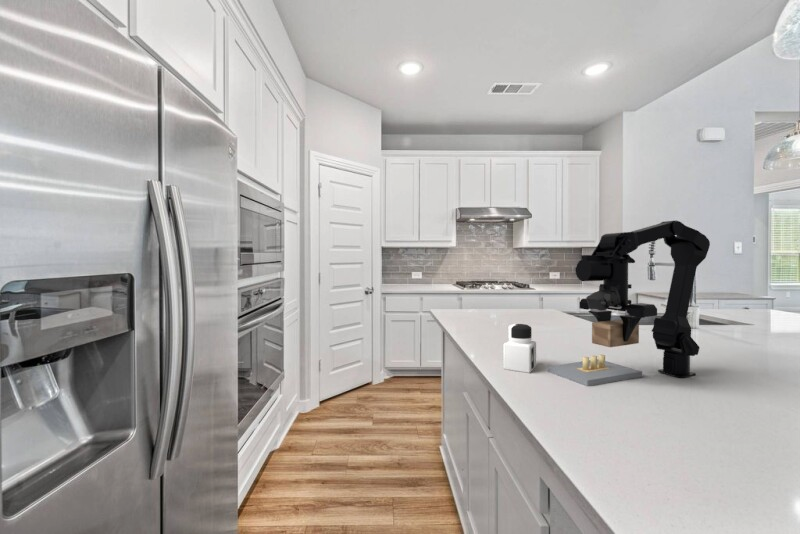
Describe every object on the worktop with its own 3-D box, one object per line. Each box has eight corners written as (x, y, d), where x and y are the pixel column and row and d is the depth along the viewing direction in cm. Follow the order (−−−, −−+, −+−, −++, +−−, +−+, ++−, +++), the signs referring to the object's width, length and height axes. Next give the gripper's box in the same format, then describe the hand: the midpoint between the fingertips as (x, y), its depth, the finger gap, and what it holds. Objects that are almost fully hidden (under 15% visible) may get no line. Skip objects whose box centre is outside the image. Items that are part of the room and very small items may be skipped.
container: (536, 366, 117) (536, 323, 117) (529, 373, 111) (529, 327, 110) (510, 363, 121) (510, 321, 121) (503, 369, 115) (502, 325, 114)
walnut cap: (619, 339, 108) (620, 319, 108) (638, 343, 103) (638, 322, 103) (592, 343, 103) (592, 322, 103) (610, 347, 98) (610, 325, 98)
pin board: (599, 363, 120) (599, 347, 119) (642, 376, 107) (642, 358, 106) (547, 371, 112) (547, 354, 112) (587, 386, 99) (587, 366, 99)
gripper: (564, 279, 108) (564, 335, 108) (628, 283, 91) (627, 349, 91) (593, 278, 113) (593, 332, 113) (658, 282, 95) (658, 345, 96)
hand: (615, 339), depth 103 cm, fingers closed on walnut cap, 5 cm apart
